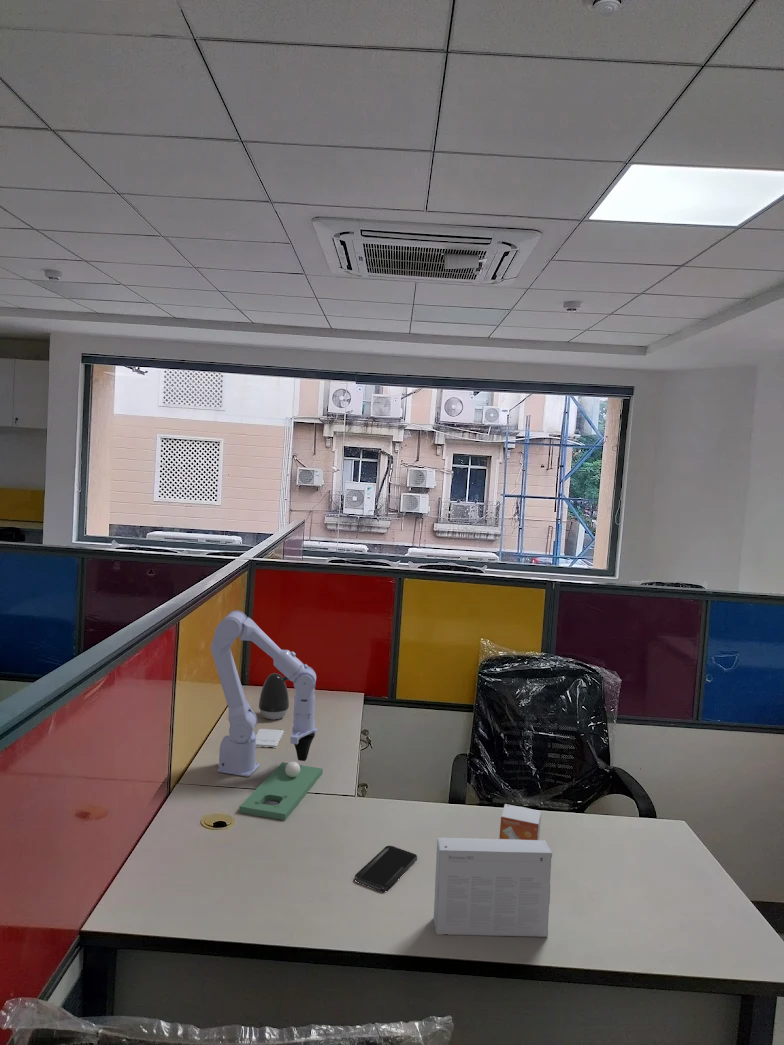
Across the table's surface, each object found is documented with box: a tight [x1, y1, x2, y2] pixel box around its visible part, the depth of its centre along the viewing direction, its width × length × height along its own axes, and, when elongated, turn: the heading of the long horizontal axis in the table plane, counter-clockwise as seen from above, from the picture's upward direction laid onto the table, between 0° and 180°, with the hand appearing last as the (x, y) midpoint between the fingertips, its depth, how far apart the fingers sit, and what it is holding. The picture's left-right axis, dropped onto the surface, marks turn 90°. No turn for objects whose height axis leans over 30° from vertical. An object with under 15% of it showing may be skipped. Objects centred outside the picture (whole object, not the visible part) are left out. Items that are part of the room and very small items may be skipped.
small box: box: [498, 803, 542, 840], centre depth 144 cm, size 8×6×13 cm
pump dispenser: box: [258, 672, 290, 721], centre depth 228 cm, size 10×10×15 cm
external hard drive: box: [255, 728, 285, 748], centre depth 208 cm, size 2×8×12 cm
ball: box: [285, 761, 300, 777], centre depth 180 cm, size 4×4×4 cm
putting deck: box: [238, 762, 324, 821], centre depth 175 cm, size 12×27×2 cm, turn 167°
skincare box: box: [433, 837, 553, 938], centre depth 125 cm, size 21×6×16 cm, turn 92°
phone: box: [354, 845, 418, 893], centre depth 142 cm, size 8×1×15 cm
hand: (302, 759), depth 187 cm, fingers closed
